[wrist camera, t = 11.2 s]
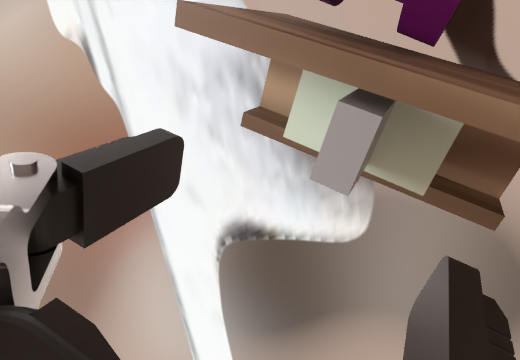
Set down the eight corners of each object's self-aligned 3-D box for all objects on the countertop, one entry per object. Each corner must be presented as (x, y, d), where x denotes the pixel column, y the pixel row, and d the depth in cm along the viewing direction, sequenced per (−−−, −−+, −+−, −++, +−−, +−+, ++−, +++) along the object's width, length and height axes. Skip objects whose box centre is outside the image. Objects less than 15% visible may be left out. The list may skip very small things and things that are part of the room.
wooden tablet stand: (286, 14, 29) (177, -1, 17) (562, 94, 23) (684, 155, 11) (261, 116, 33) (160, 161, 21) (488, 206, 27) (520, 337, 15)
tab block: (341, 52, 27) (270, 63, 16) (462, 92, 24) (476, 137, 13) (320, 113, 29) (246, 159, 18) (429, 155, 27) (416, 238, 16)
